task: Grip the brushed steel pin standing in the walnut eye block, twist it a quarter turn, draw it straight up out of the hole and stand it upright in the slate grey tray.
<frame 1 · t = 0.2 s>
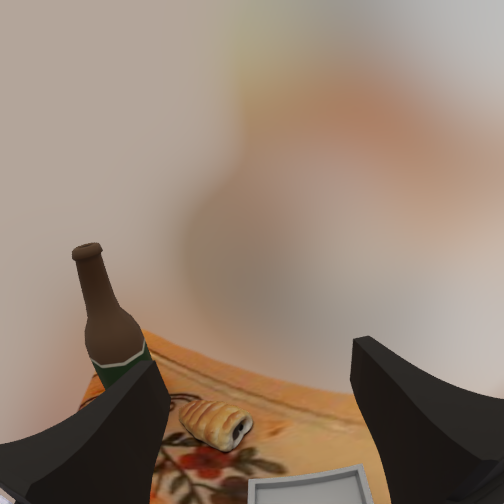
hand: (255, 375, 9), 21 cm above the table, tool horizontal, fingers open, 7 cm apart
beer bottle: (145, 410, 33), on the table
pastry: (217, 430, 29), on the table
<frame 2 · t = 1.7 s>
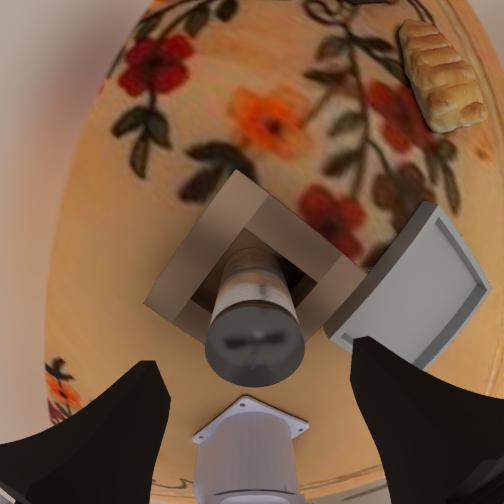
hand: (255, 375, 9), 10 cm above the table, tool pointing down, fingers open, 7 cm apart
eye block: (253, 276, 19), on the table
steel pin: (253, 305, 15), in the eye block
tray: (415, 301, 20), on the table
pastry: (432, 84, 15), on the table
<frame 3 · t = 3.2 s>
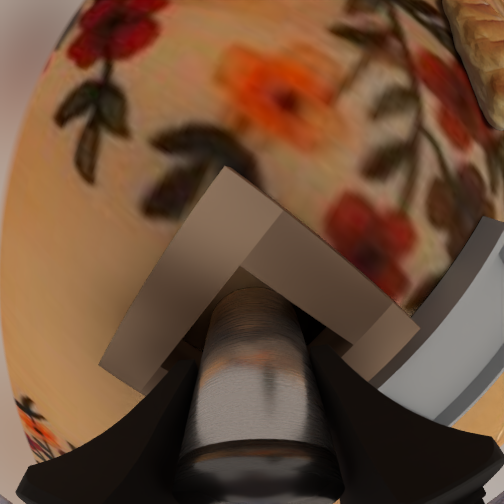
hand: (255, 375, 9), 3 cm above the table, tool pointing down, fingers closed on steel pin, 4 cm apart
eye block: (254, 327, 12), on the table
steel pin: (256, 391, 8), in the eye block, touching gripper
tray: (459, 343, 13), on the table
pastry: (483, 67, 9), on the table
when the fingers open (5 cm above the table, at t = 7.4 s): steel pin drops 1 cm, resting on tray.
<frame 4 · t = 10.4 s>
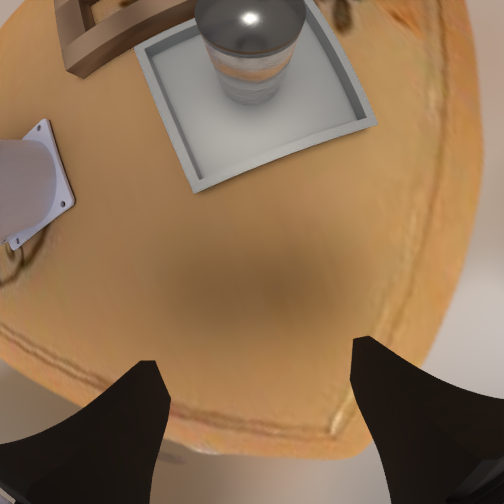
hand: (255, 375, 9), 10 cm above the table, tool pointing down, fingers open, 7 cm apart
eye block: (123, 5, 13), on the table
steel pin: (250, 50, 11), in the tray
tray: (252, 81, 16), on the table
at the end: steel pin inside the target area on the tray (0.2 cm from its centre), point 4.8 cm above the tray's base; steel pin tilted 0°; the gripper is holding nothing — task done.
